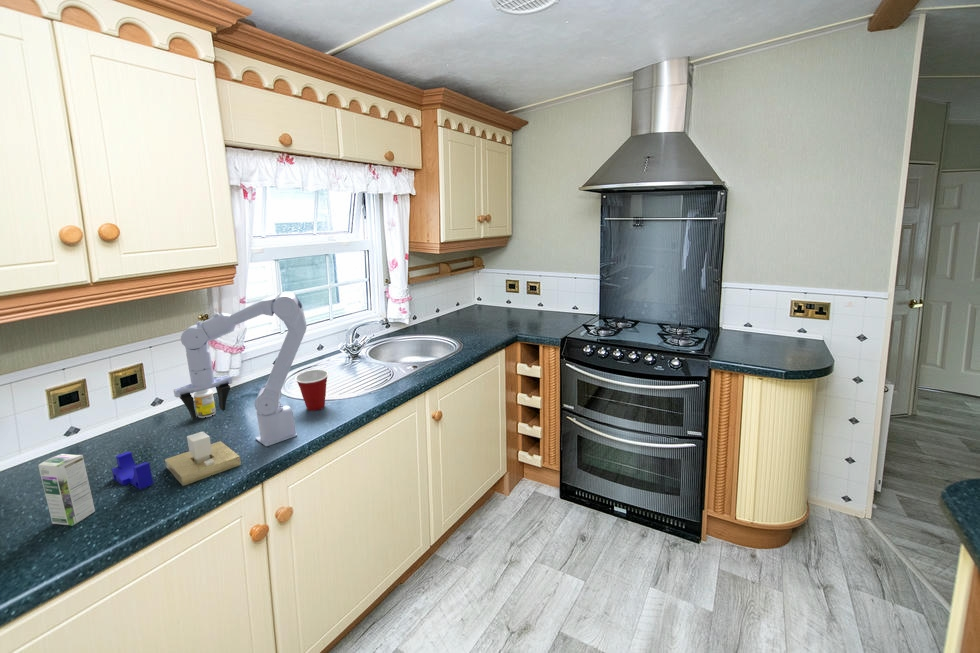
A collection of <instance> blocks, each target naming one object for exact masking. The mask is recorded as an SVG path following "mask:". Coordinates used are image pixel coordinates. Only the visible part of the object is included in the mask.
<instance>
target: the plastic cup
mask: <svg viewBox="0 0 980 653" xmlns="http://www.w3.org/2000/svg"><path fill="white" fill-rule="evenodd" d="M328 376H329V372H328V371H327V370H325V369H310V370H305V371H302V372H300V373H298V374H297V375H296V376H295V377H294V380H295V382H297V384H298V387H299V389H300V393H301V396H302V398H303V401H304V405H305V408H306V410H307V411H311V412H312V411H314V412H315V411H320V410H322V409H324V408H325V405H326V393H327V382H328Z"/></svg>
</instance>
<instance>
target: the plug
mask: <svg viewBox="0 0 980 653" xmlns="http://www.w3.org/2000/svg"><path fill="white" fill-rule="evenodd" d="M210 437H211V436H209V435H208V434H207V433H205V431H204V430H203V431H200V432H196V433H193V434H190V435H187V436H186V439H187V445H188V446H187V447H188V452H190V454H191V455H192V456H193V457H194V462H195V463H199V462H202V461H205V460H208V459H210V456H209V455H211V454H212V448H211V444H212V443H211V438H210Z"/></svg>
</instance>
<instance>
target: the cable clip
mask: <svg viewBox="0 0 980 653" xmlns="http://www.w3.org/2000/svg"><path fill="white" fill-rule="evenodd" d="M115 459H116V462H117V466H115V467H113V468H111V473H112V478H113V480H115V481H116V482H117V483H119V484H120V485H122V486H126V485H128V484H131V485H133V486H134V487H135V488H137V489H138V488H139V489H138V490H140V489H141V490H143V489H145V488H147V487H150V486H153V485H154V481H153V476H152V471H151V466H150V463H149V462H148V461H145V462H142V463H139V464H136V463H135V460H134V457H133V454H132V452H131V451H126V452H122V453H121V454H118V455H115Z"/></svg>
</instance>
